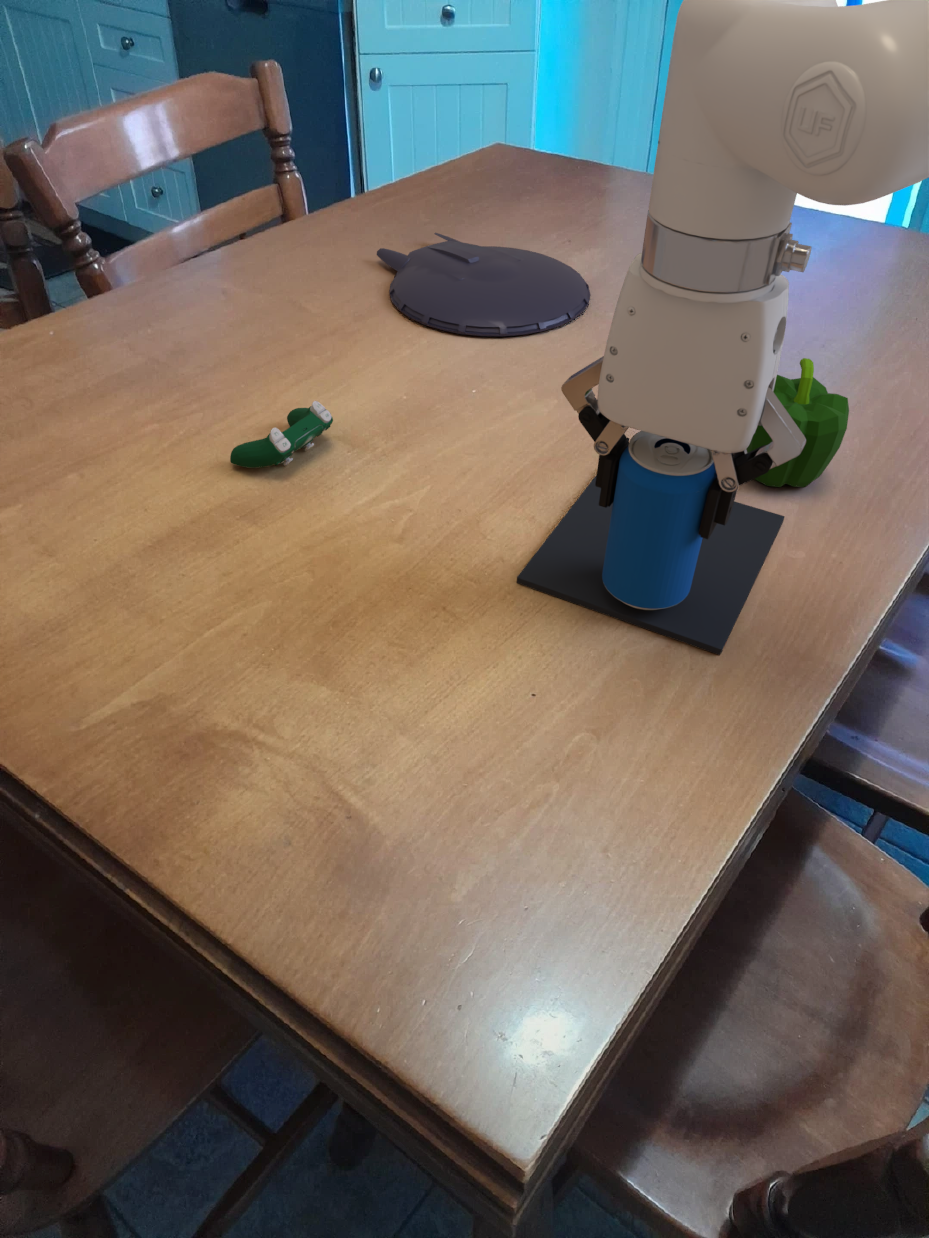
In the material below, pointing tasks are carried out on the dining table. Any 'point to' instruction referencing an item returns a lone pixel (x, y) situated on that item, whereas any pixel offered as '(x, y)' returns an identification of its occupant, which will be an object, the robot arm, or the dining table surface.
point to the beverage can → (656, 521)
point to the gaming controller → (284, 439)
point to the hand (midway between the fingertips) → (659, 510)
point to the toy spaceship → (485, 288)
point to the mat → (716, 588)
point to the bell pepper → (806, 428)
